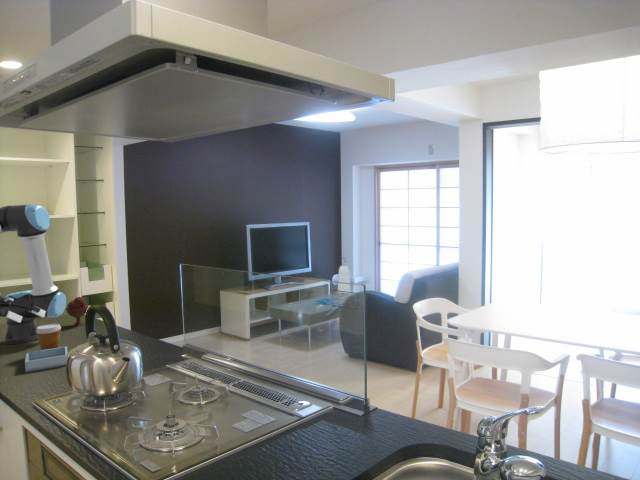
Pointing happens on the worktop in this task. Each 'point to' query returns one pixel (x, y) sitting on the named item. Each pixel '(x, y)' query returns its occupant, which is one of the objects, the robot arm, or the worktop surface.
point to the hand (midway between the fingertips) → (32, 317)
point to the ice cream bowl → (77, 309)
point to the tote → (45, 359)
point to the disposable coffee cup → (49, 336)
